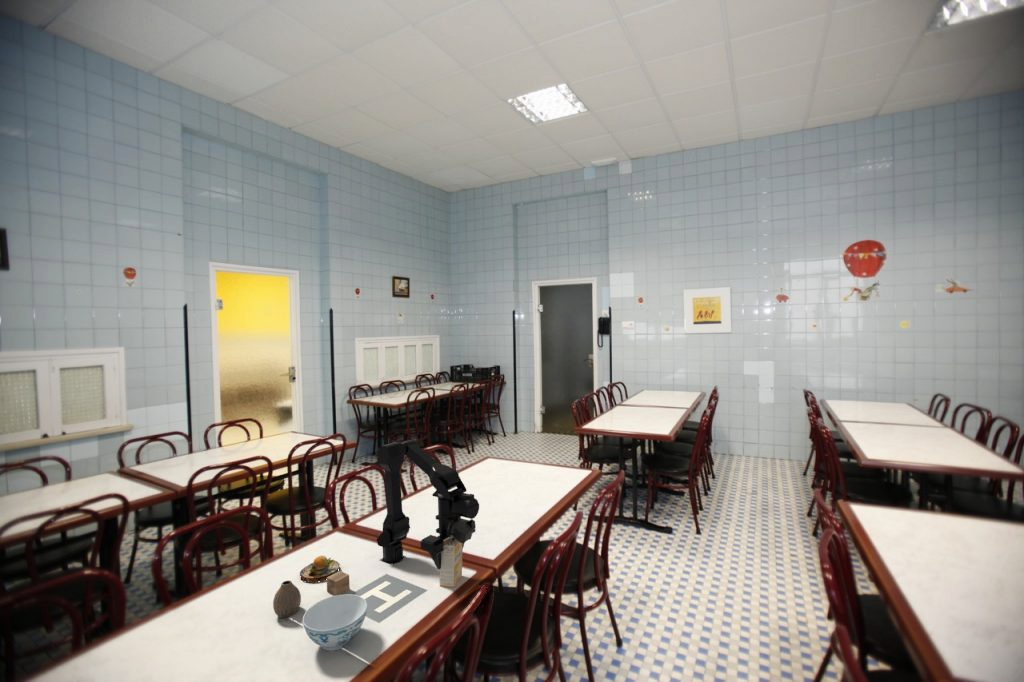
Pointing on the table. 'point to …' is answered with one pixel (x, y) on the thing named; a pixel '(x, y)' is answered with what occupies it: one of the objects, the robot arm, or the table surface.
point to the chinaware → (335, 620)
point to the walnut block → (338, 583)
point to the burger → (319, 569)
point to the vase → (286, 600)
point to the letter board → (387, 596)
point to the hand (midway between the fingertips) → (449, 562)
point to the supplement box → (451, 562)
